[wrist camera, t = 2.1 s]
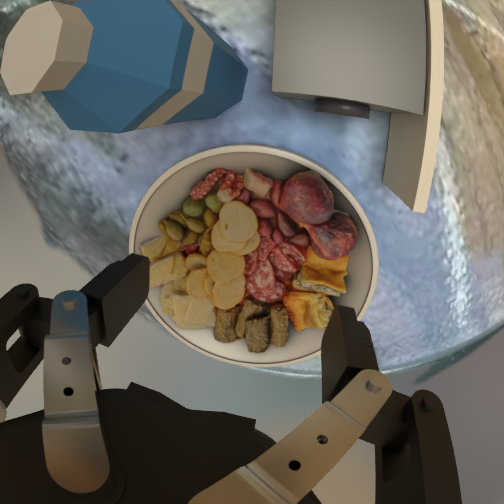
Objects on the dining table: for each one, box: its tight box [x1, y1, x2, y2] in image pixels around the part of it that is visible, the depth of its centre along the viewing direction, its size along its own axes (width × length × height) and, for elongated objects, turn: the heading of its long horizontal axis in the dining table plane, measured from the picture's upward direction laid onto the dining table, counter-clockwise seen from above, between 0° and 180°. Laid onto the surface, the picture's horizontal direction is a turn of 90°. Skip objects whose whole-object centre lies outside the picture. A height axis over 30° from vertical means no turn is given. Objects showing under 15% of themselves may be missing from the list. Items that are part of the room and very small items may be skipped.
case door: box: [382, 0, 444, 213], centre depth 20 cm, size 27×2×10 cm, turn 178°
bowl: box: [129, 144, 379, 367], centre depth 35 cm, size 30×30×8 cm
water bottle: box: [0, 0, 248, 133], centre depth 17 cm, size 9×9×25 cm
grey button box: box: [272, 0, 426, 119], centre depth 19 cm, size 19×12×11 cm, turn 178°
